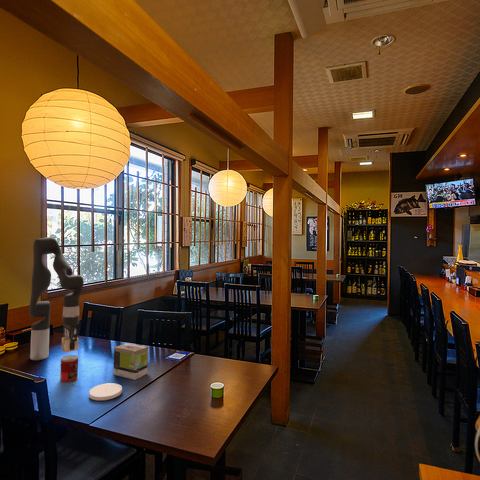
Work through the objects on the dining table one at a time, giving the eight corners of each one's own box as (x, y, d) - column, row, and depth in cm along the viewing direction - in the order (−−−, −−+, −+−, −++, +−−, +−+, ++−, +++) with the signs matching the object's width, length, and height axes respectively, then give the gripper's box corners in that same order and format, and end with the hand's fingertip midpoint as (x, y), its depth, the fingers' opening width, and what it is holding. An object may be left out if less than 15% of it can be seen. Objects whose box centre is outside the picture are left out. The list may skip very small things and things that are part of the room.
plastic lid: (124, 398, 147) (124, 393, 147) (90, 405, 140) (90, 399, 140) (119, 386, 159) (119, 381, 159) (87, 392, 152) (87, 386, 152)
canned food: (70, 383, 160) (71, 361, 160) (56, 381, 161) (57, 359, 161) (81, 377, 167) (81, 355, 167) (67, 375, 169) (68, 354, 169)
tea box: (147, 373, 174) (148, 346, 174) (134, 380, 165) (135, 351, 165) (126, 368, 180) (127, 341, 181) (112, 374, 171) (113, 346, 171)
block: (61, 349, 164) (61, 337, 165) (74, 347, 169) (74, 335, 169) (65, 352, 160) (65, 340, 160) (78, 350, 164) (78, 338, 164)
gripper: (58, 313, 167) (57, 346, 167) (67, 318, 157) (66, 353, 157) (74, 311, 172) (73, 343, 172) (83, 316, 162) (82, 350, 162)
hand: (69, 347), depth 164 cm, fingers closed on block, 6 cm apart
